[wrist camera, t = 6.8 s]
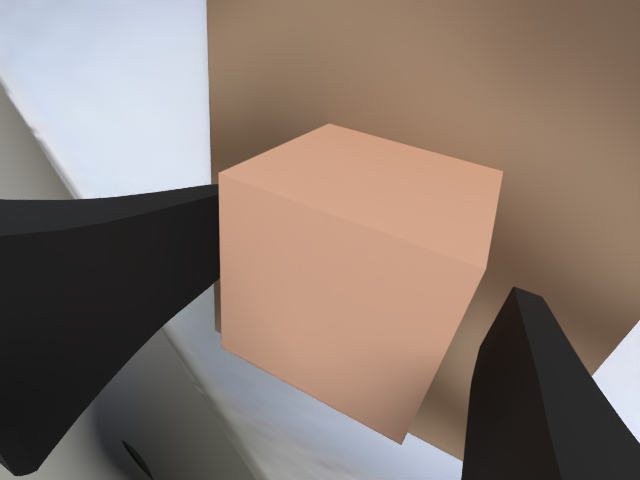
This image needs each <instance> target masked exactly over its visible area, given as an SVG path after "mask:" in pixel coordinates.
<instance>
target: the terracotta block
mask: <svg viewBox="0 0 640 480" xmlns="http://www.w3.org/2000/svg"><path fill="white" fill-rule="evenodd" d="M218 174H219V229H220V284H221V339H222V348H223V349H225V350H227V351H228V352H230V353H232V354H234V355H236V356H238V357H240V358H241V359H243V360H245V361H247V362H249V363H251V364H253V365H254V366H256V367H258V368H260V369H262V370H264V371H265V372H267V373H269V374H271V375H273V376H275V377H277V378H278V379H280V380H282V381H284V382H286V383H288V384H289V385H291V386H293V387H295V388H297V389H299V390H301V391H302V392H304V393H306V394H308V395H310V396H312V397H313V398H315V399H317V400H319V401H321V402H323V403H325V404H326V405H328V406H330V407H332V408H334V409H336V410H338V411H339V412H341V413H343V414H345V415H347V416H349V417H350V418H352V419H354V420H356V421H358V422H360V423H362V424H363V425H365V426H367V427H369V428H371V429H373V430H374V431H376V432H378V433H380V434H382V435H384V436H386V437H387V438H389V439H391V440H393V441H395V442H397V443H398V444H400V445H402V443H403V441H404V439H405V436H406V434H407V432H408V430H409V428H410V426H411V424H412V422H413V420H414V418H415V416H416V414H417V411H418V409H419V407H420V405H421V403H422V401H423V399H424V397H425V395H426V393H427V391H428V389H429V387H430V384H431V382H432V380H433V378H434V376H435V374H436V372H437V370H438V368H439V366H440V364H441V362H442V359H443V357H444V355H445V353H446V351H447V349H448V347H449V345H450V343H451V341H452V339H453V337H454V334H455V332H456V330H457V328H458V326H459V324H460V322H461V320H462V318H463V316H464V314H465V312H466V310H467V307H468V305H469V303H470V301H471V299H472V297H473V295H474V293H475V291H476V289H477V287H478V285H479V282H480V280H481V278H482V276H483V274H484V272H485V270H486V266H487V260H488V255H489V249H490V244H491V238H492V232H493V227H494V221H495V215H496V210H497V204H498V198H499V193H500V187H501V182H502V176H503V171H500V170H497V169H493V168H489V167H486V166H482V165H478V164H475V163H471V162H467V161H464V160H460V159H457V158H453V157H449V156H446V155H442V154H438V153H435V152H431V151H427V150H424V149H420V148H416V147H413V146H409V145H406V144H402V143H398V142H395V141H391V140H387V139H384V138H380V137H376V136H373V135H369V134H365V133H362V132H358V131H355V130H351V129H347V128H344V127H340V126H336V125H333V124H327V125H324V126H322V127H320V128H318V129H315V130H313V131H311V132H309V133H307V134H304V135H302V136H300V137H298V138H295V139H293V140H291V141H289V142H286V143H284V144H282V145H280V146H278V147H275V148H273V149H271V150H269V151H266V152H264V153H262V154H260V155H258V156H255V157H253V158H251V159H249V160H246V161H244V162H242V163H240V164H237V165H235V166H233V167H231V168H229V169H226V170H224V171H222V172H220V173H218Z"/></svg>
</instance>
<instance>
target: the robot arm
mask: <svg viewBox="0 0 640 480" xmlns="http://www.w3.org/2000/svg"><path fill="white" fill-rule="evenodd" d="M219 278H220V229H219V184H212V185H204V186H196V187H189V188H182V189H175V190H168V191H161V192H153V193H145V194H136V195H128V196H119V197H109V198H96V199H76V200H3V199H0V463H1V464H2V465H3V466H4V467H5V468H6V469H7V470H9V471H10V472H11V473H12V474H13V475H14V476H23V475H27V474H30V473H33V472H35V471H37V470H38V469H39V467H40V466H41V464H42V463H43V462H44V460H45V459H46V458H47V457H48V455H49V454H50V453H51V451H52V450H53V449H54V448H55V446H56V445H57V444H58V443H59V441H60V440H61V439H62V437H63V436H64V435H65V434H66V432H67V431H68V430H69V429H70V427H71V426H72V425H73V423H74V422H75V421H76V420H77V418H78V417H79V416H80V415H81V414H82V413H83V411H84V410H85V409H86V408H87V407H88V406H89V404H90V403H91V402H92V401H93V400H94V398H95V397H96V396H97V395H98V394H99V393H100V392H101V390H102V389H103V388H104V387H105V386H106V384H107V383H108V382H109V381H110V380H111V379H112V378H113V377H114V376H115V375H116V374H117V373H118V371H119V370H120V369H121V368H122V367H123V366H124V365H125V364H126V363H127V362H128V361H129V359H130V358H131V357H132V356H133V355H134V354H135V353H136V352H137V351H138V350H139V349H140V348H141V347H142V346H143V345H144V344H145V343H146V342H147V341H148V340H149V339H150V338H151V337H152V336H153V335H154V334H155V333H156V332H157V331H158V330H159V329H160V328H161V327H162V326H163V325H164V324H166V323H167V322H168V321H169V320H170V319H171V318H172V317H174V316H175V315H176V314H177V313H178V312H180V311H181V310H182V309H183V308H184V307H186V306H187V305H188V304H189V303H191V302H192V301H193V300H194V299H195V298H197V297H198V296H199V295H200V294H202V293H203V292H204V291H205V290H206V289H208V288H209V287H210V286H211V285H212V284H214V283H215V282H216V281H217V280H218V279H219ZM461 480H640V443H639V442H638V441H637V439H636V438H635V437H634V436H633V434H632V433H631V432H630V430H629V429H628V428H627V426H626V425H625V424H624V422H623V421H622V420H621V418H620V417H619V415H618V414H617V413H616V411H615V410H614V408H613V407H612V406H611V404H610V403H609V401H608V400H607V399H606V397H605V396H604V394H603V393H602V392H601V390H600V389H599V387H598V386H597V384H596V383H595V381H594V380H593V378H592V377H591V375H590V374H589V372H588V371H587V369H586V367H585V366H584V364H583V363H582V361H581V360H580V358H579V356H578V355H577V353H576V352H575V350H574V348H573V347H572V345H571V343H570V342H569V340H568V339H567V337H566V335H565V333H564V332H563V330H562V328H561V327H560V325H559V323H558V322H557V320H556V318H555V317H554V315H553V313H552V311H551V310H550V308H549V306H548V305H547V303H546V302H545V300H544V298H543V297H542V296H539V295H536V294H534V293H531V292H528V291H526V290H523V289H520V288H517V287H515V286H513V288H512V289H511V291H510V293H509V295H508V297H507V298H506V300H505V302H504V304H503V306H502V307H501V309H500V311H499V313H498V315H497V316H496V318H495V320H494V322H493V324H492V325H491V327H490V329H489V331H488V333H487V334H486V336H485V338H484V340H483V342H482V343H481V345H480V347H479V351H478V355H477V359H476V363H475V368H474V372H473V376H472V381H471V387H470V396H469V406H468V416H467V427H466V437H465V448H464V458H463V469H462V478H461Z"/></svg>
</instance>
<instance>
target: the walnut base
mask: <svg viewBox="0 0 640 480" xmlns="http://www.w3.org/2000/svg"><path fill="white" fill-rule="evenodd" d="M207 35H208V73H209V110H210V147H211V185H212V184H219V174H218V173H220V172H222V171H224V170H226V169H229V168H231V167H233V166H235V165H237V164H240V163H242V162H244V161H246V160H249V159H251V158H253V157H255V156H258V155H260V154H262V153H264V152H266V151H269V150H271V149H273V148H275V147H278V146H280V145H282V144H284V143H286V142H289V141H291V140H293V139H295V138H298V137H300V136H302V135H304V134H307V133H309V132H311V131H313V130H315V129H318V128H320V127H322V126H324V125H327V124H333V125H336V126H340V127H344V128H347V129H351V130H355V131H358V132H362V133H365V134H369V135H373V136H376V137H380V138H384V139H387V140H391V141H395V142H398V143H402V144H406V145H409V146H413V147H416V148H420V149H424V150H427V151H431V152H435V153H438V154H442V155H446V156H449V157H453V158H457V159H460V160H464V161H467V162H471V163H475V164H478V165H482V166H486V167H489V168H493V169H497V170H500V171H503V176H502V182H501V187H500V193H499V198H498V204H497V210H496V215H495V221H494V227H493V232H492V238H491V244H490V249H489V255H488V260H487V266H486V270H485V272H484V274H483V276H482V278H481V280H480V282H479V285H478V287H477V289H476V291H475V293H474V295H473V297H472V299H471V301H470V303H469V305H468V307H467V310H466V312H465V314H464V316H463V318H462V320H461V322H460V324H459V326H458V328H457V330H456V332H455V334H454V337H453V339H452V341H451V343H450V345H449V347H448V349H447V351H446V353H445V355H444V357H443V359H442V362H441V364H440V366H439V368H438V370H437V372H436V374H435V376H434V378H433V380H432V382H431V384H430V387H429V389H428V391H427V393H426V395H425V397H424V399H423V401H422V403H421V405H420V407H419V409H418V411H417V414H416V416H415V418H414V420H413V422H412V424H411V426H410V428H409V430H408V433H410V434H412V435H414V436H416V437H418V438H420V439H422V440H423V441H425V442H427V443H429V444H431V445H433V446H435V447H437V448H439V449H440V450H442V451H444V452H446V453H448V454H450V455H452V456H454V457H456V458H457V459H459V460H461V461H463V458H464V448H465V437H466V427H467V416H468V406H469V396H470V387H471V381H472V376H473V372H474V368H475V363H476V359H477V355H478V351H479V347H480V345H481V343H482V342H483V340H484V338H485V336H486V334H487V333H488V331H489V329H490V327H491V325H492V324H493V322H494V320H495V318H496V316H497V315H498V313H499V311H500V309H501V307H502V306H503V304H504V302H505V300H506V298H507V297H508V295H509V293H510V291H511V289H512V288H513V286H515V287H517V288H520V289H523V290H526V291H528V292H531V293H534V294H536V295H539V296H542V297H543V298H544V300H545V302H546V303H547V305H548V306H549V308H550V310H551V311H552V313H553V315H554V317H555V318H556V320H557V322H558V323H559V325H560V327H561V328H562V330H563V332H564V333H565V335H566V337H567V339H568V340H569V342H570V343H571V345H572V347H573V348H574V350H575V352H576V353H577V355H578V356H579V358H580V360H581V361H582V363H583V364H584V366H585V367H586V369H587V371H588V372H589V374H590V375H591V376H592V375H593V374H594V373H595V372H596V370H597V369H598V368H599V367H600V366H601V365H602V363H603V362H604V361H605V360H606V359H607V358H608V356H609V355H610V354H611V353H612V352H613V351H614V349H615V348H616V347H617V346H618V345H619V344H620V342H621V341H622V340H623V339H624V338H625V337H626V335H627V334H628V333H629V332H630V331H631V330H632V328H633V327H634V326H635V325H636V324H637V323H638V321H639V320H640V0H207ZM214 297H215V330H216V331H218V332H219V333H221V284H220V278H219V279H218V280H217V281H216V282H215V283H214Z"/></svg>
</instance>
